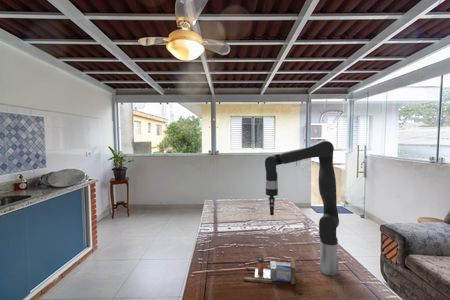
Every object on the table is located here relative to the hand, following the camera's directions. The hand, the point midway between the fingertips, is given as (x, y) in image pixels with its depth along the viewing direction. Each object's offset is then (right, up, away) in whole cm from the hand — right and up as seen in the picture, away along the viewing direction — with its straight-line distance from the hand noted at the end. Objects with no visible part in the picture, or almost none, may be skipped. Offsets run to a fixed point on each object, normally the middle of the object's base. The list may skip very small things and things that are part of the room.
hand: (271, 212), depth 151 cm
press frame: (-5, -31, -17) cm, 36 cm away
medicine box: (+3, -31, -19) cm, 37 cm away
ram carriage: (-7, -31, -16) cm, 36 cm away
